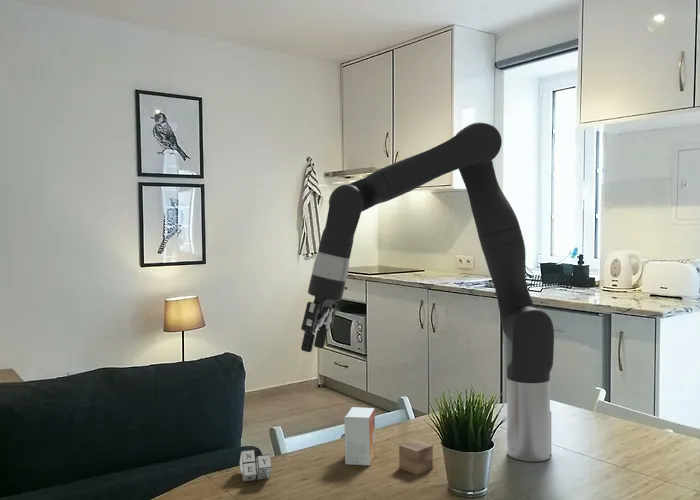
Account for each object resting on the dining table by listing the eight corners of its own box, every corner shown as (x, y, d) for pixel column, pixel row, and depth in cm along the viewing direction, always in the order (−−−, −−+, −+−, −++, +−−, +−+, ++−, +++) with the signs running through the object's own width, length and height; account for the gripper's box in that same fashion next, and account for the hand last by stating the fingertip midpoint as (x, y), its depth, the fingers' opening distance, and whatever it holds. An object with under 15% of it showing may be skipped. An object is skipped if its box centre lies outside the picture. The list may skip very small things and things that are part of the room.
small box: (370, 466, 130) (369, 418, 130) (344, 465, 131) (343, 416, 131) (375, 453, 138) (375, 407, 138) (351, 452, 139) (351, 406, 139)
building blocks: (242, 487, 125) (244, 470, 119) (239, 462, 129) (242, 444, 123) (267, 483, 127) (271, 466, 121) (264, 459, 130) (268, 441, 125)
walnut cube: (415, 462, 133) (415, 439, 132) (432, 468, 129) (432, 445, 129) (399, 468, 129) (399, 445, 129) (416, 475, 126) (416, 451, 125)
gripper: (335, 279, 123) (318, 357, 123) (353, 280, 137) (338, 350, 137) (301, 271, 125) (284, 348, 125) (323, 272, 139) (307, 342, 139)
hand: (312, 349), depth 131 cm, fingers open, 8 cm apart
